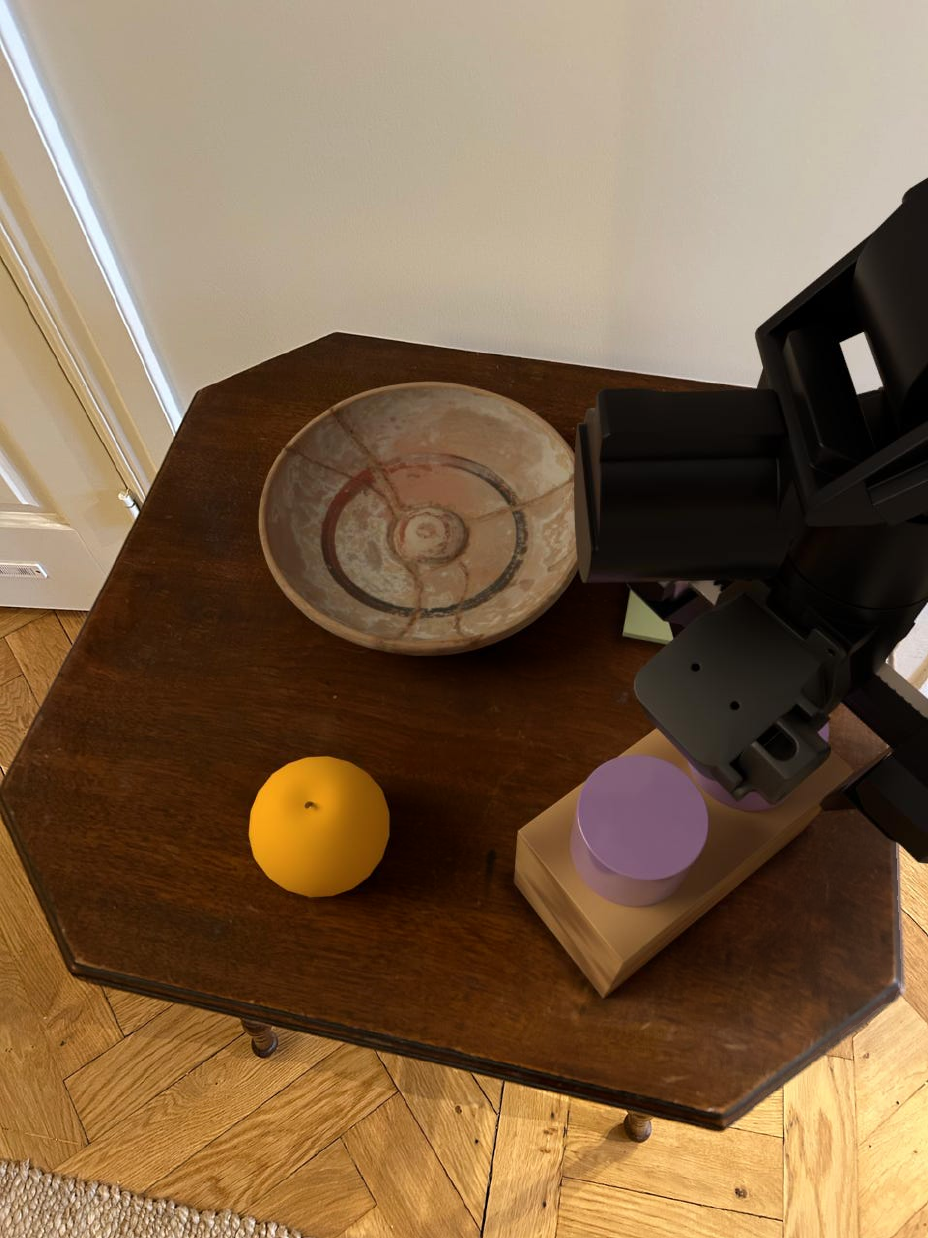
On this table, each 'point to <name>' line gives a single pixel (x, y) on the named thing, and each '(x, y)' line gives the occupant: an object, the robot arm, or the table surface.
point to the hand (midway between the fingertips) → (757, 732)
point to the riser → (631, 936)
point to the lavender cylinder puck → (637, 830)
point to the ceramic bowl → (422, 518)
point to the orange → (319, 826)
